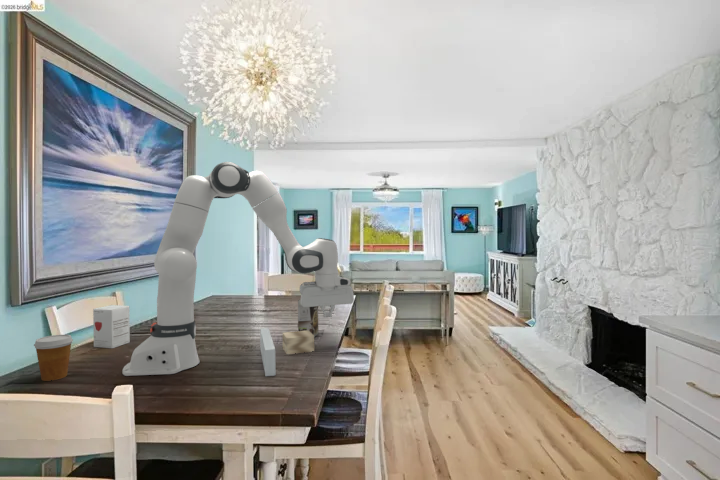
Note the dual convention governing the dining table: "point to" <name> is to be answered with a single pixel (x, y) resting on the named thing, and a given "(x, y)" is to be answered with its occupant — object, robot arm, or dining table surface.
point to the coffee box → (308, 318)
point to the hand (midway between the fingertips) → (327, 317)
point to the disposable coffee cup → (53, 356)
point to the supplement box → (111, 326)
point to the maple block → (298, 342)
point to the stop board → (267, 352)
